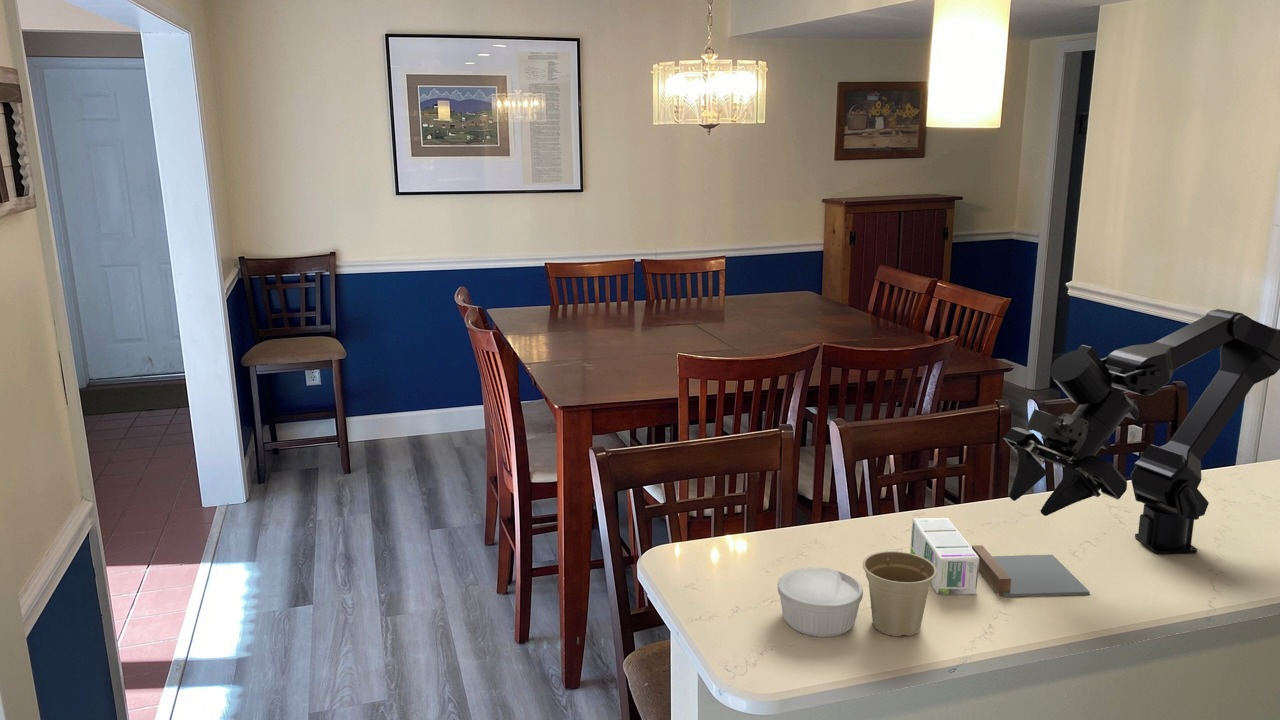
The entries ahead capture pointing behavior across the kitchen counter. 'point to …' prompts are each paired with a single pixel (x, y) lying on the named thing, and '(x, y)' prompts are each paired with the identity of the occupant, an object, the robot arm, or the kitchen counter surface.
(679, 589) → the kitchen counter surface
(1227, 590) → the kitchen counter surface
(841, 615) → the ramekin
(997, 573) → the stop block
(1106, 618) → the kitchen counter surface
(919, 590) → the flower pot
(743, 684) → the kitchen counter surface
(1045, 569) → the seat mat
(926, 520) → the syrup box
